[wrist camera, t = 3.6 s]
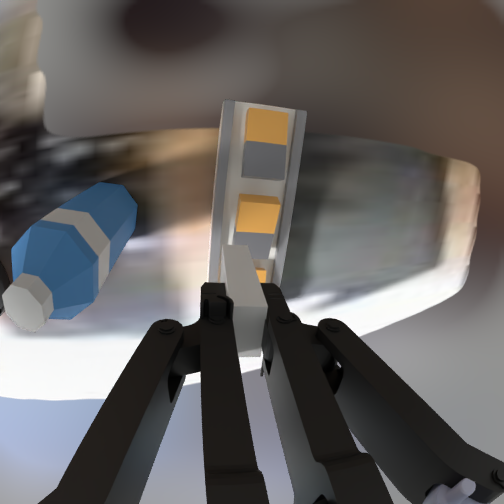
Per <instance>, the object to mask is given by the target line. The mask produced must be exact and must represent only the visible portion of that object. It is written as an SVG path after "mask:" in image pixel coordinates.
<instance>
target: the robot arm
mask: <svg viewBox="0 0 504 504" xmlns="http://www.w3.org/2000/svg"><path fill="white" fill-rule="evenodd" d="M9 286H10V283H9V279H8V276H7V274H6V271H5V269H4V267H3V265H2V263H1V262H0V316H1V315H2V314H3V313H4V311H5V308H4V303H3V298H2V295H3V293H4V292H5V291H6V290H7V289H8V287H9ZM261 349H262V351H263V361H262V367H261V373H260V376H263V372H264V373H265V378H266V382H267V386H268V390H269V394H270V399H271V403H272V407H273V411H274V415H275V419H276V423H277V427H278V431H279V436H280V440H281V444H282V448H283V452H284V456H285V460H286V464H287V467H288V471H289V475H290V479H291V483H292V487H293V491H294V504H394V503H393V501H392V499H391V497H390V494H389V492H388V490H387V487H386V485H385V483H384V481H383V479H382V476H381V474H380V472H379V470H378V467H377V465H378V466H379V467H380V469H381V470H382V471H383V472H384V473H385V475H386V476H387V477H388V478H389V480H390V481H391V482H392V483H393V484H394V486H395V487H396V488H397V489H398V491H399V492H400V493H401V494H402V495H403V496H404V497H405V498H407V500H409V501H410V502H411V503H412V504H490V503H491V502H492V501H493V500H495V499H496V498H497V497H499V496H500V495H501V494H502V493H504V462H502V461H500V460H498V459H496V458H494V457H492V456H490V455H488V454H486V453H484V452H482V451H480V450H478V449H477V448H475V447H473V446H471V445H469V444H467V443H466V442H465V441H464V440H463V439H462V438H461V437H460V436H459V435H458V434H457V433H456V432H455V431H454V430H453V429H452V428H451V427H450V426H449V425H448V424H447V423H446V422H445V421H444V420H443V419H442V418H441V417H440V416H439V415H438V414H437V413H436V412H435V411H434V410H433V409H432V408H431V407H430V406H429V405H428V404H427V403H426V402H425V401H424V400H423V399H422V398H421V397H420V396H419V395H417V393H415V391H414V390H413V389H411V387H409V386H408V385H407V384H406V383H405V382H404V381H403V380H402V379H401V378H400V377H399V376H398V375H397V374H396V373H395V372H394V371H393V370H392V369H391V368H390V367H389V366H388V365H387V364H386V363H385V362H384V361H383V360H382V359H381V358H380V357H379V356H378V355H377V354H376V353H375V352H374V351H373V350H371V348H369V347H368V346H367V345H366V344H365V343H364V342H363V341H362V340H361V339H360V338H359V337H358V336H357V335H356V334H355V333H354V332H353V331H352V330H351V329H350V328H349V327H348V326H347V325H346V324H344V323H343V322H342V321H339V320H337V319H333V318H326V319H323V320H321V321H320V322H319V323H318V326H312V325H307V324H303V323H301V321H300V319H299V317H298V316H297V315H295V314H294V313H292V312H290V310H289V308H288V306H287V303H286V301H285V299H284V296H283V295H282V292H281V289H280V288H279V287H278V286H277V285H276V284H274V283H260V281H259V278H258V275H257V272H256V269H255V266H254V263H253V260H252V257H251V254H250V251H249V248H248V245H223V244H222V257H221V274H220V283H214V282H205V283H204V284H203V285H202V287H201V302H200V318H199V320H198V321H197V322H196V323H194V324H192V325H189V326H184V327H183V326H182V324H181V323H179V322H178V321H175V320H172V319H163V320H159V321H156V322H154V323H153V324H152V325H151V327H150V328H149V330H148V331H147V333H146V335H145V336H144V338H143V339H142V341H141V343H140V344H139V346H138V347H137V349H136V351H135V352H134V354H133V355H132V357H131V359H130V360H129V362H128V363H127V365H126V367H125V368H124V370H123V372H122V373H121V375H120V377H119V378H118V380H117V382H116V383H115V385H114V387H113V388H112V390H111V392H110V393H109V395H108V397H107V398H106V400H105V402H104V403H103V405H102V407H101V409H100V410H99V412H98V414H97V416H96V417H95V419H94V421H93V423H92V424H91V426H90V428H89V430H88V431H87V433H86V435H85V437H84V439H83V440H82V442H81V444H80V446H79V447H78V449H77V451H76V453H75V455H74V456H73V458H72V460H71V462H70V464H69V466H68V468H67V469H66V471H65V473H64V475H63V477H62V479H61V481H60V483H59V485H58V487H57V488H56V489H55V490H54V491H53V492H52V493H50V494H49V495H48V496H47V497H45V498H44V499H43V500H42V501H40V502H39V503H38V504H139V502H140V499H141V496H142V493H143V491H144V488H145V485H146V482H147V480H148V477H149V474H150V471H151V469H152V466H153V463H154V461H155V458H156V455H157V452H158V450H159V447H160V444H161V442H162V439H163V436H164V434H165V431H166V428H167V425H168V423H169V420H170V418H171V415H172V412H173V410H174V407H175V404H176V402H177V399H178V396H179V394H180V391H181V389H182V386H183V383H184V381H185V378H186V375H187V374H192V373H196V372H200V371H201V405H202V406H201V408H202V433H203V453H204V469H205V485H206V497H207V504H269V500H268V495H267V490H266V486H265V481H264V477H263V474H262V472H261V471H260V470H259V469H258V466H257V462H256V456H255V451H254V446H253V441H252V435H251V429H250V423H249V418H248V412H247V406H246V400H245V394H244V388H243V382H242V376H241V370H240V364H239V358H238V357H260V356H261ZM337 362H339V364H340V365H341V368H340V367H339V366H338V365H337ZM349 429H350V430H349ZM350 431H351V432H352V433H353V434H354V436H355V437H356V438H357V439H358V441H359V442H360V443H361V444H362V446H363V447H364V448H365V450H366V451H367V452H368V453H369V454H368V453H361V452H360V451H359V450H358V448H357V447H356V444H355V442H354V440H353V437H352V435H351V433H350ZM375 462H376V463H375ZM376 464H377V465H376Z"/></svg>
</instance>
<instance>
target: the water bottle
mask: <svg viewBox="0 0 504 504" xmlns="http://www.w3.org/2000/svg"><path fill="white" fill-rule="evenodd" d="M137 208H138V205H137V203H136V202H135V201H134V199H133V198H132V197H131V195H130V194H129V193H128V191H127V190H126V189H125V187H124V186H123V185H118V184H111V183H104V182H99V183H97V184H96V185H94V186H92V187H90V188H89V189H87V190H85V191H84V192H82V193H80V194H79V195H77V196H76V197H74V198H72V199H71V200H69V201H68V202H66V203H64V204H63V205H61V206H60V207H58V208H57V209H55V210H54V211H52V212H51V213H49V214H48V215H46V216H45V217H43V218H42V219H40V220H39V221H37V222H36V223H34V224H33V225H32V226H31V227H30V228H29V229H28V230H27V231H26V232H25V233H24V235H23V236H22V237H21V238H20V239H19V240H18V242H17V243H16V244H15V245H14V246H13V248H12V249H11V253H12V272H13V283H12V284H11V285H10V286H9V287H8V289H7V290H6V291H5V292H4V293H3V295H2V298H3V303H4V308H5V312H6V314H7V315H8V316H9V317H10V319H11V320H12V321H13V322H14V323H15V324H16V325H17V326H18V327H19V328H21V329H24V330H28V331H31V332H36V331H37V330H39V329H40V328H41V327H42V326H43V325H44V324H45V323H46V321H47V320H48V319H69V320H71V319H72V318H73V317H75V316H76V315H77V314H78V313H80V312H81V311H82V310H84V309H85V308H86V307H88V306H89V305H90V304H91V303H93V302H94V300H95V298H96V296H97V294H98V293H99V291H100V289H101V287H102V285H103V283H104V281H105V280H106V278H107V276H108V274H109V272H110V271H111V269H112V267H113V265H114V264H115V262H116V260H117V258H118V257H119V255H120V253H121V252H122V250H123V248H124V246H125V245H126V243H127V241H128V240H129V238H130V237H131V235H132V233H133V232H134V230H135V225H136V216H137Z"/></svg>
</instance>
